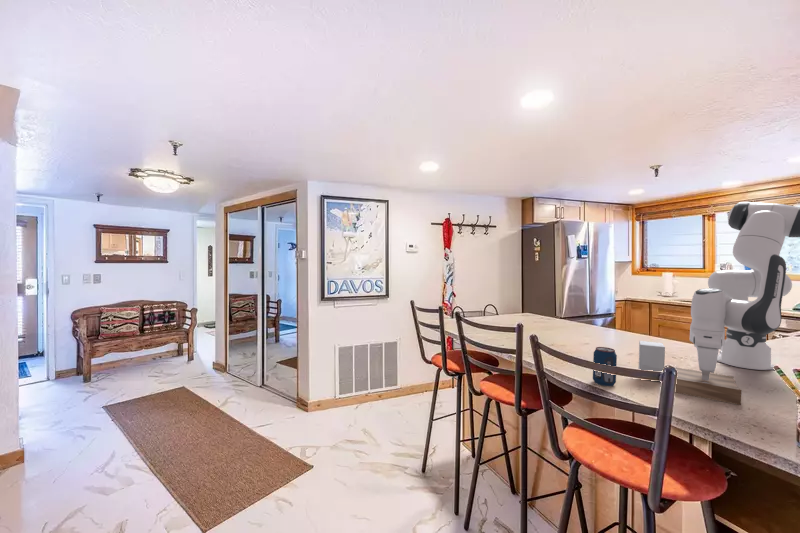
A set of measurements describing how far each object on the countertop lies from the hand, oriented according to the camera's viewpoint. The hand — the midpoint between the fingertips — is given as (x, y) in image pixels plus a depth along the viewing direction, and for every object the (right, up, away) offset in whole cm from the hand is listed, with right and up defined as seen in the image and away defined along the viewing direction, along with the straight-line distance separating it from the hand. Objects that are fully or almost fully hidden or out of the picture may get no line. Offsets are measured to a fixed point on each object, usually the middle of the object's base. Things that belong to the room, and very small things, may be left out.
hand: (705, 379), depth 122 cm
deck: (+1, -3, +2) cm, 4 cm away
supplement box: (-11, -3, +11) cm, 16 cm away
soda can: (-31, -3, +4) cm, 32 cm away
